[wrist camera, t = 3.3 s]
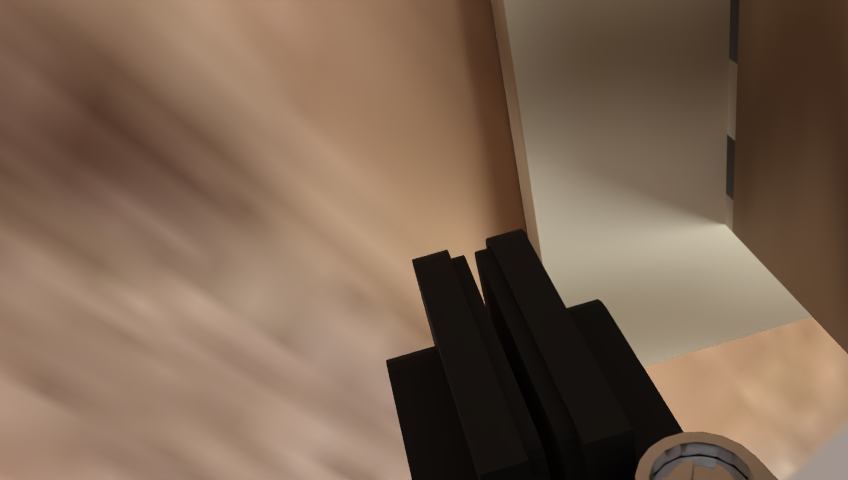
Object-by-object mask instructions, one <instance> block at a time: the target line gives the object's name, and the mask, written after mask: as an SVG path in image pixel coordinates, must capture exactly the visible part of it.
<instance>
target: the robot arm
mask: <svg viewBox="0 0 848 480" xmlns="http://www.w3.org/2000/svg"><path fill="white" fill-rule="evenodd" d="M486 247H487V249H484V250H480V251H477V252H475V258H476V264H477V268H478V273H479V278H480V282H481V287H482V292H483V297H484V301H485V304H484V302H483V299H482V297H481V294H480V292H479V290H478V287H477V285H476V282H475V280H474V277H473V275H472V273H471V270H470V268H469V265H468V263H467V260H466V258H465V256H464V255H463V256H459V257H456V258H452V259H451V257H450V255H449V252H448V250H444V251H441V252H437V253H434V254H430V255H427V256H423V257H420V258H416V259H413V260H412V263H413V266H414V270H415V274H416V278H417V281H418V285H419V289H420V292H421V296H422V300H423V304H424V307H425V311H426V315H427V318H428V322H429V326H430V329H431V333H432V337H433V341H434V344H435V346H434V347H430V348H427V349H423V350H420V351H416V352H413V353H409V354H406V355H402V356H399V357H396V358H392V359H389V360H386V363H387V368H388V373H389V378H390V382H391V387H392V391H393V396H394V400H395V405H396V409H397V414H398V418H399V423H400V427H401V432H402V436H403V441H404V445H405V450H406V454H407V459H408V463H409V468H410V473H411V477H412V480H778V479H777V478H776V477H775V476H774V475H773V474H772V473H771V472H770V471H769V470H768V469H767V467H766V466H765V465H764V464H763V463H762V462H761V461H760V460H759V459H758V458H757V457H756V456H755V455H754V454H752V453H751V452H750V451H749V450H747V449H746V448H745V447H744V446H743V445H741V444H739V443H737V442H735V441H733V440H730V439H728V438H726V437H724V436H721V435H716V434H711V433H706V432H683V430H682V429H681V427H680V426H679V424H678V422H677V421H676V419H675V418H674V416H673V414H672V413H671V411H670V409H669V408H668V406H667V405H666V403H665V401H664V400H663V398H662V397H661V395H660V393H659V392H658V390H657V388H656V387H655V385H654V384H653V382H652V380H651V379H650V377H649V376H648V374H647V372H646V371H645V369H644V367H643V366H642V364H641V363H640V361H639V359H638V358H637V356H636V354H635V353H634V351H633V350H632V348H631V346H630V345H629V343H628V342H627V340H626V338H625V337H624V335H623V333H622V332H621V330H620V329H619V327H618V325H617V324H616V322H615V321H614V319H613V317H612V316H611V314H610V312H609V311H608V309H607V308H606V306H605V305H604V304H603V302H602V301H600V300H599V299H596V300H593V301H589V302H586V303H582V304H579V305H575V306H572V307H568V308H566V306H565V304H564V303H563V301H562V299H561V297H560V295H559V293H558V292H557V290H556V288H555V286H554V284H553V283H552V281H551V279H550V277H549V275H548V273H547V272H546V270H545V268H544V266H543V264H542V263H541V261H540V259H539V257H538V255H537V253H536V252H535V250H534V248H533V246H532V244H531V243H530V241H529V239H528V237H527V235H526V233H525V232H524V230H523V229H518V230H515V231H511V232H508V233H504V234H501V235H497V236H494V237H490V238H486ZM485 306H486V307H485Z"/></svg>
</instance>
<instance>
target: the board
mask: <svg viewBox="0 0 848 480" xmlns="http://www.w3.org/2000/svg"><path fill="white" fill-rule="evenodd" d="M491 5H492V12H493V18H494V24H495V31H496V37H497V44H498V50H499V56H500V63H501V69H502V75H503V82H504V88H505V94H506V101H507V107H508V113H509V120H510V126H511V133H512V139H513V145H514V152H515V158H516V164H517V171H518V177H519V183H520V190H521V196H522V202H523V209H524V215H525V221H526V228H527V234H528V239H529V241H530V243H531V244H532V246H533V248H534V250H535V252H536V253H537V255H538V257H539V259H540V261H541V263H542V264H543V266H544V268H545V270H546V272H547V273H548V275H549V277H550V279H551V281H552V283H553V284H554V286H555V288H556V290H557V292H558V293H559V295H560V297H561V299H562V301H563V303H564V304H565V306H566V308H568V307H572V306H575V305H579V304H582V303H586V302H589V301H593V300H596V299H599V300H600V301H602V302H603V304H604V305H605V306H606V308H607V309H608V311H609V312H610V314H611V316H612V317H613V319H614V321H615V322H616V324H617V325H618V327H619V329H620V330H621V332H622V333H623V335H624V337H625V338H626V340H627V342H628V343H629V345H630V346H631V348H632V350H633V351H634V353H635V354H636V356H637V358H638V359H639V361H640V363H641V364H642V366H643V367H644V366H647V365H651V364H654V363H657V362H661V361H664V360H668V359H671V358H674V357H678V356H681V355H684V354H688V353H691V352H694V351H698V350H701V349H705V348H708V347H711V346H715V345H718V344H721V343H725V342H728V341H731V340H735V339H738V338H742V337H745V336H748V335H752V334H755V333H758V332H762V331H765V330H769V329H772V328H775V327H779V326H782V325H785V324H789V323H792V322H795V321H799V320H802V319H806V318H809V317H812V316H811V315H810V314H809V312H808V311H807V310H806V309H805V308H804V307H803V306H802V305H801V304H800V303H799V302H798V301H797V300H796V299H795V298H794V297H793V296H792V295H791V293H790V292H789V291H788V290H787V289H786V288H785V287H784V286H783V285H782V284H781V283H780V282H779V281H778V280H777V279H776V278H775V277H774V276H773V275H772V273H771V272H770V271H769V270H768V269H767V268H766V267H765V266H764V265H763V264H762V263H761V262H760V261H759V260H758V259H757V258H756V257H755V256H754V254H753V253H752V252H751V251H750V250H749V249H748V248H747V247H746V246H745V245H744V244H743V243H742V242H741V241H740V240H739V239H738V238H737V237H736V236H735V234H734V233H733V232H732V231H731V230H730V229H729V228H728V227H727V226H726V225H725V209H726V166H727V124H728V82H729V39H730V0H491Z"/></svg>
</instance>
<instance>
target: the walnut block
mask: <svg viewBox="0 0 848 480" xmlns="http://www.w3.org/2000/svg"><path fill="white" fill-rule="evenodd" d="M725 225H726V226H727V227H728V228H729V229H730V230H731V231H732V232H733V233H734V234H735V236H736V237H737V238H738V239H739V240H740V241H741V242H742V243H743V244H744V245H745V246H746V247H747V248H748V249H749V250H750V251H751V252H752V253H753V254H754V256H755V257H756V258H757V259H758V260H759V261H760V262H761V263H762V264H763V265H764V266H765V267H766V268H767V269H768V270H769V271H770V272H771V273H772V275H773V276H774V277H775V278H776V279H777V280H778V281H779V282H780V283H781V284H782V285H783V286H784V287H785V288H786V289H787V290H788V291H789V292H790V293H791V295H792V296H793V297H794V298H795V299H796V300H797V301H798V302H799V303H800V304H801V305H802V306H803V307H804V308H805V309H806V310H807V311H808V312H809V314H810V315H811V316H812V317H813V318H814V319H815V320H816V321H817V322H818V323H819V324H820V325H821V326H822V327H823V328H824V329H825V330H826V331H827V332H828V334H829V335H830V336H831V337H832V338H833V339H834V340H835V341H836V342H837V343H838V344H839V345H840V346H841V347H842V348H843V349H844V350H845V351H846V353H847V354H848V0H730V39H729V82H728V124H727V166H726V209H725Z"/></svg>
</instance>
